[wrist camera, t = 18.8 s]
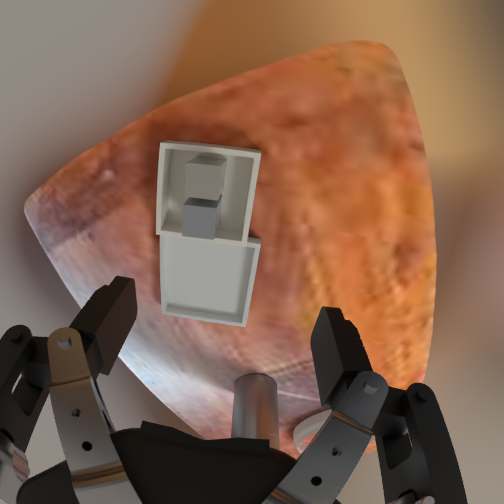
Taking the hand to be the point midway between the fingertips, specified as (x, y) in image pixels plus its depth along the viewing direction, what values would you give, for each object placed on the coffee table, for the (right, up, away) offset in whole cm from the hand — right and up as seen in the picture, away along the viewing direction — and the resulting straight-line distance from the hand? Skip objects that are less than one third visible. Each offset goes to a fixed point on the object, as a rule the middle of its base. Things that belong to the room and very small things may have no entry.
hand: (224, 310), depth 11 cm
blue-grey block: (-5, +9, +27) cm, 28 cm away
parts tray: (-6, -1, +32) cm, 33 cm away
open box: (-5, +11, +26) cm, 29 cm away
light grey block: (-4, +13, +24) cm, 28 cm away
